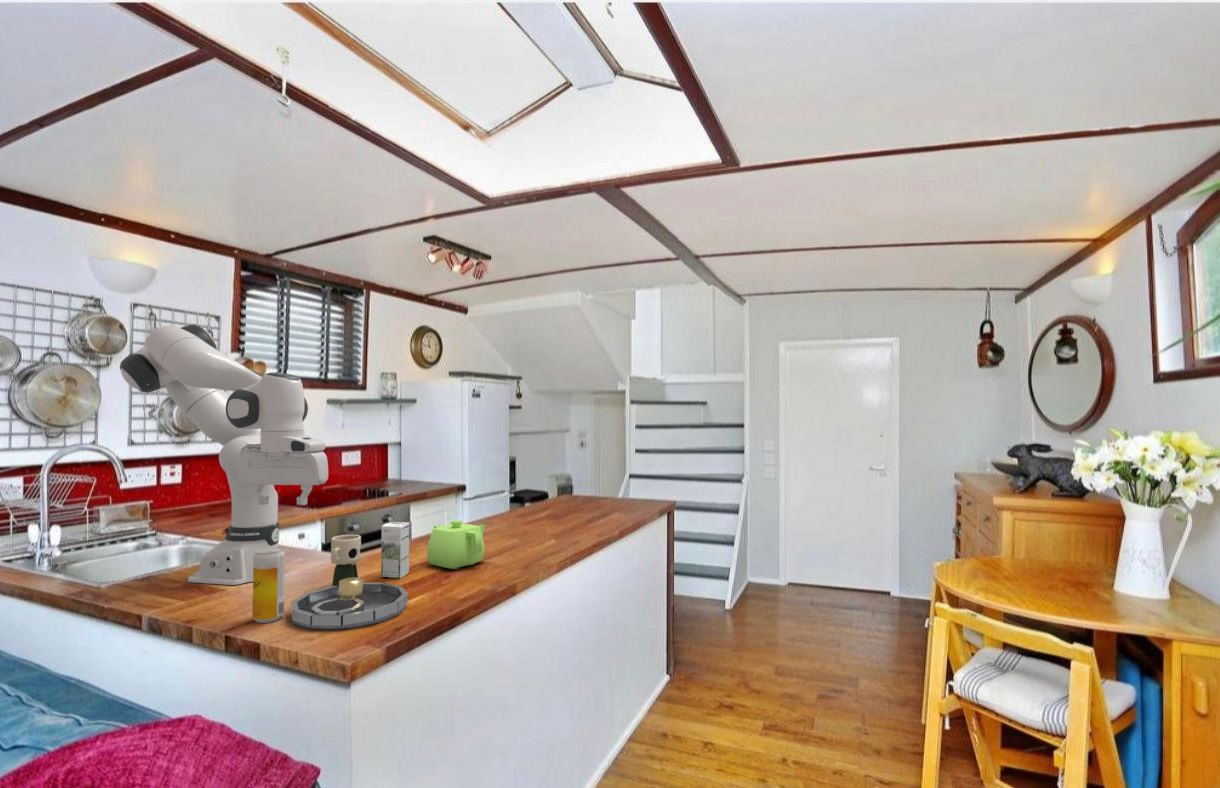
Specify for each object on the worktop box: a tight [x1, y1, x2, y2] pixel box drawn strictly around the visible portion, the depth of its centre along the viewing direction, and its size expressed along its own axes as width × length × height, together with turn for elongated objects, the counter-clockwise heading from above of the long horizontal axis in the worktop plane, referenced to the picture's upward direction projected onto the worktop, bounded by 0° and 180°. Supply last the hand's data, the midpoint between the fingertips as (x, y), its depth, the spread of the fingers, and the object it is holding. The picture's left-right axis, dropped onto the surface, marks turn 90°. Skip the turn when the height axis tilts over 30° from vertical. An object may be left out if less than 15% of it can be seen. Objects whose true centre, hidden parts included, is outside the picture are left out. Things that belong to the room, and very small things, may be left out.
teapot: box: [426, 519, 486, 570], centre depth 181 cm, size 18×20×13 cm
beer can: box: [251, 547, 286, 624], centre depth 133 cm, size 6×6×15 cm
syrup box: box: [380, 521, 410, 579], centre depth 167 cm, size 6×6×14 cm
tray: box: [290, 576, 409, 631], centre depth 138 cm, size 24×24×7 cm
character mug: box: [330, 534, 362, 586], centre depth 156 cm, size 11×7×13 cm, turn 174°
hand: (282, 504), depth 137 cm, fingers open, 8 cm apart
